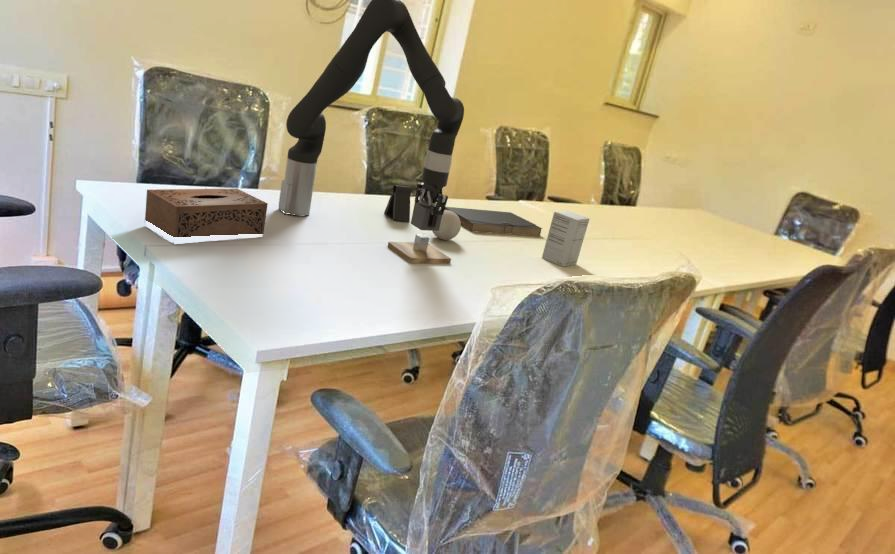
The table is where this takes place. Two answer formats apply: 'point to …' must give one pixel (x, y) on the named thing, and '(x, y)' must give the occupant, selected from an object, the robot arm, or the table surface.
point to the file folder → (494, 221)
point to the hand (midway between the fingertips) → (425, 223)
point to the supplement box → (565, 238)
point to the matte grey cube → (421, 243)
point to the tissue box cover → (205, 212)
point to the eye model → (448, 226)
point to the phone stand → (399, 204)
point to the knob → (424, 216)
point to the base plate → (418, 253)
